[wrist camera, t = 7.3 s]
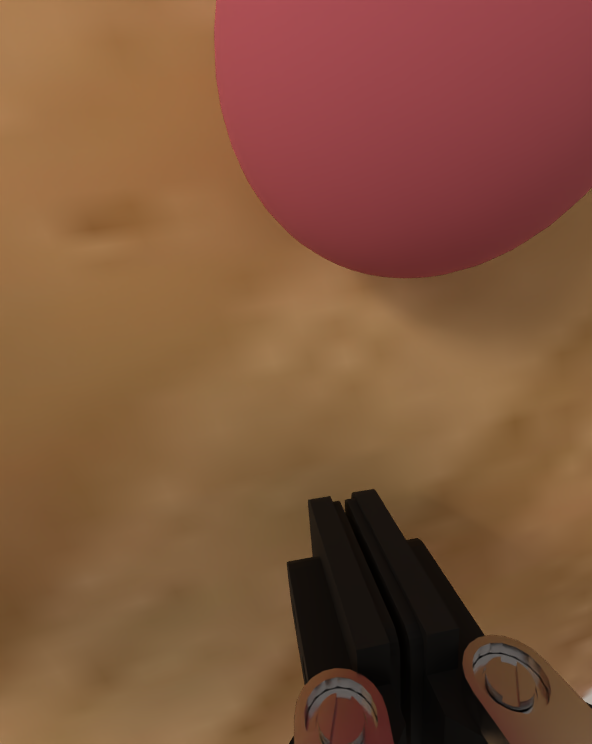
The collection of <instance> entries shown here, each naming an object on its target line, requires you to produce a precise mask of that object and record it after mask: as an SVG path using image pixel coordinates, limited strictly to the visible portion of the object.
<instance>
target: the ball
mask: <svg viewBox="0 0 592 744" xmlns="http://www.w3.org/2000/svg"><path fill="white" fill-rule="evenodd" d="M214 40H215V66H216V80H217V86H218V93H219V99H220V105H221V109H222V113H223V117H224V121H225V124H226V128H227V131H228V135H229V138H230V142H231V145H232V148H233V150H234V152H235V155H236V157H237V159H238V161H239V163H240V166H241V168H242V170H243V172H244V174H245V176H246V178H247V180H248V182H249V184H250V185H251V187H252V189H253V190H254V192H255V193H256V195H257V196H258V198H259V199H260V201H261V202H262V204H263V205H264V206H265V208H266V209H267V211H268V212H269V213H270V214H271V215H272V216H273V217H274V218H275V219H276V220H277V221H278V222H279V223H280V225H281V226H282V227H283V228H284V229H285V230H286V231H287V232H288V233H289V234H290V235H291V236H293V237H294V238H295V239H296V240H298V241H299V242H300V243H301V244H303V245H304V246H306V247H307V248H309V249H310V250H312V251H313V252H315V253H317V254H318V255H320V256H322V257H323V258H325V259H327V260H329V261H331V262H333V263H335V264H337V265H340V266H343V267H345V268H348V269H351V270H354V271H358V272H361V273H365V274H369V275H375V276H381V277H393V278H420V277H431V276H438V275H444V274H448V273H452V272H455V271H459V270H463V269H466V268H470V267H474V266H477V265H479V264H482V263H484V262H486V261H489V260H491V259H494V258H496V257H498V256H500V255H502V254H504V253H506V252H508V251H511V250H513V249H514V248H516V247H518V246H519V245H521V244H522V243H524V242H526V241H527V240H529V239H530V238H532V237H533V236H535V235H536V234H538V233H539V232H541V231H542V230H544V229H545V228H547V227H549V226H550V225H551V224H552V223H553V222H555V221H556V220H557V219H558V218H559V217H560V216H562V215H563V214H564V213H565V212H566V211H567V210H569V209H570V208H571V207H572V206H573V205H574V204H575V203H576V202H578V201H579V200H580V199H581V198H582V197H583V196H584V195H585V194H586V193H587V192H588V191H589V190H590V189H591V188H592V0H216V13H215V27H214Z"/></svg>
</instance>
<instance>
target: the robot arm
mask: <svg viewBox="0 0 592 744" xmlns="http://www.w3.org/2000/svg"><path fill="white" fill-rule="evenodd" d="M308 508H309V519H310V531H311V542H312V553H313V557H311V558H305V559H300V560H294V561H289V562H287V570H288V579H289V588H290V596H291V603H292V610H293V617H294V624H295V630H296V636H297V642H298V648H299V654H300V660H301V666H302V672H303V678H304V684H305V686H304V687H303V688H302V691H301V693H300V695H299V697H298V699H297V702H296V708H295V715H294V736H293V738H292V740H291V741H290V743H289V744H592V705H590V704H588V703H586V702H585V701H584V700H583V699H582V698H581V697H580V696H579V695H578V694H577V693H576V692H575V691H574V690H573V689H572V688H571V687H570V685H569V684H568V683H567V682H566V681H565V680H564V679H563V678H562V677H561V676H560V675H559V674H558V673H557V672H556V671H555V670H554V669H553V668H552V666H551V665H550V664H549V663H548V662H547V661H546V660H545V659H544V658H542V657H541V656H540V655H539V654H538V653H537V652H536V651H534V650H533V649H532V648H530V647H528V646H527V645H525V644H523V643H521V642H520V641H518V640H515V639H512V638H509V637H506V636H499V635H487V636H485V635H484V634H483V632H482V631H481V629H480V628H479V626H478V625H477V623H476V622H475V620H474V619H473V617H472V616H471V614H470V613H469V611H468V610H467V608H466V607H465V605H464V604H463V602H462V601H461V599H460V598H459V596H458V595H457V593H456V592H455V590H454V589H453V587H452V586H451V584H450V583H449V581H448V580H447V578H446V577H445V575H444V574H443V572H442V571H441V569H440V567H439V566H438V564H437V563H436V561H435V560H434V558H433V557H432V555H431V554H430V552H429V551H428V549H427V548H426V546H425V545H424V544H423V542H422V541H421V540H420V539H418V538H415V539H410V540H405V538H404V536H403V535H402V533H401V531H400V530H399V528H398V526H397V525H396V523H395V521H394V520H393V518H392V517H391V515H390V513H389V512H388V510H387V508H386V507H385V505H384V503H383V502H382V500H381V499H380V497H379V495H378V494H377V492H376V491H375V490H374V489H371V490H365V491H359V492H353V493H352V496H351V499H347V500H345V512H344V509H343V507H342V505H341V503H340V501H335V502H333V501H332V499H331V497H330V496H328V497H322V498H316V499H310V500H308Z"/></svg>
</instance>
